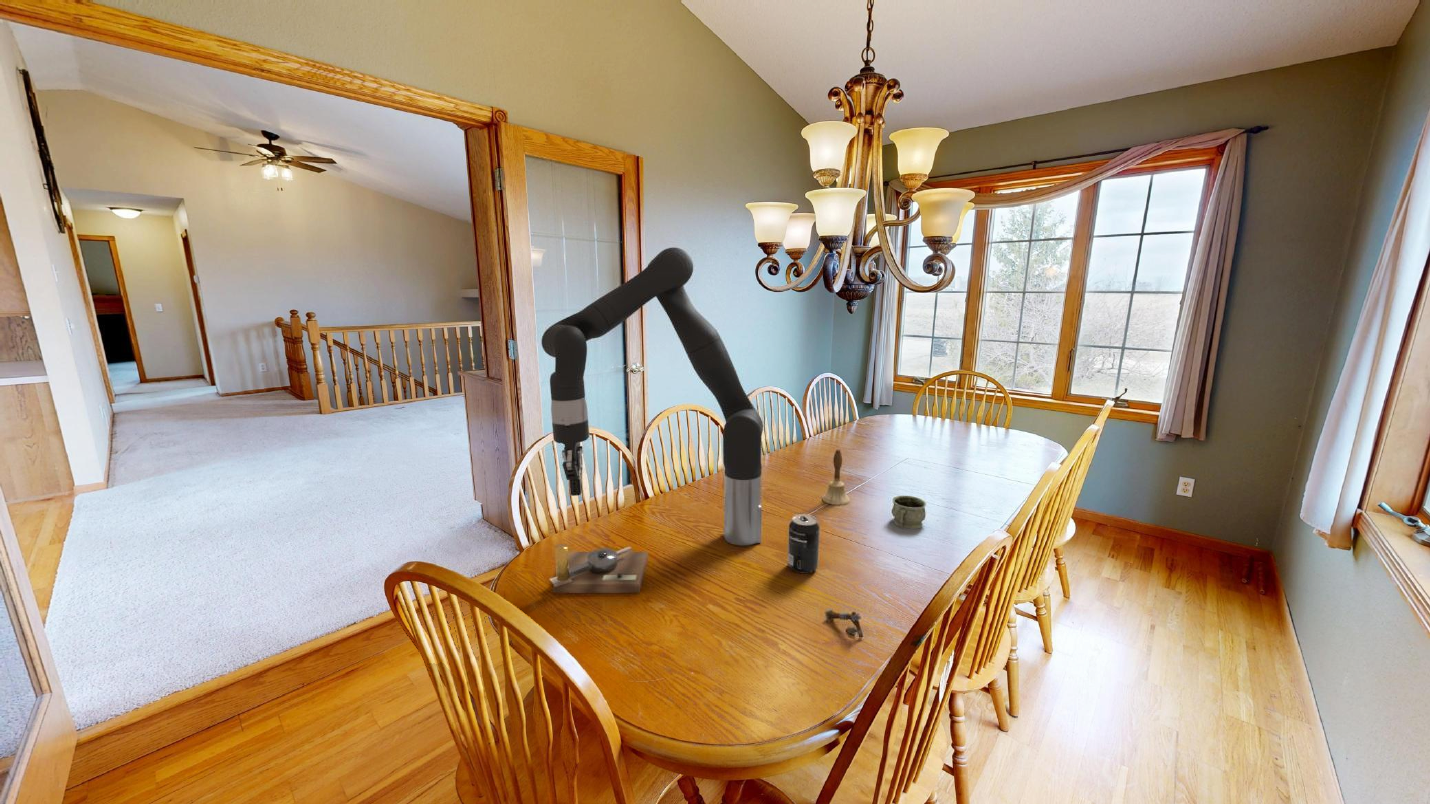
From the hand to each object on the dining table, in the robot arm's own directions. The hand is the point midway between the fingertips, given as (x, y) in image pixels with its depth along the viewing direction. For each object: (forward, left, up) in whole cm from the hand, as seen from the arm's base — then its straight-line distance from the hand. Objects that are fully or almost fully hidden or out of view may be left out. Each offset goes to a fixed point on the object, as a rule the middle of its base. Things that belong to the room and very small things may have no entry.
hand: (576, 494), depth 116 cm
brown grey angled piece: (-55, +22, -18) cm, 62 cm away
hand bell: (-68, -40, -18) cm, 81 cm away
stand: (-6, +3, -18) cm, 19 cm away
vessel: (-84, -24, -18) cm, 89 cm away
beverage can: (-51, 0, -18) cm, 54 cm away
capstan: (-5, +5, -15) cm, 17 cm away
